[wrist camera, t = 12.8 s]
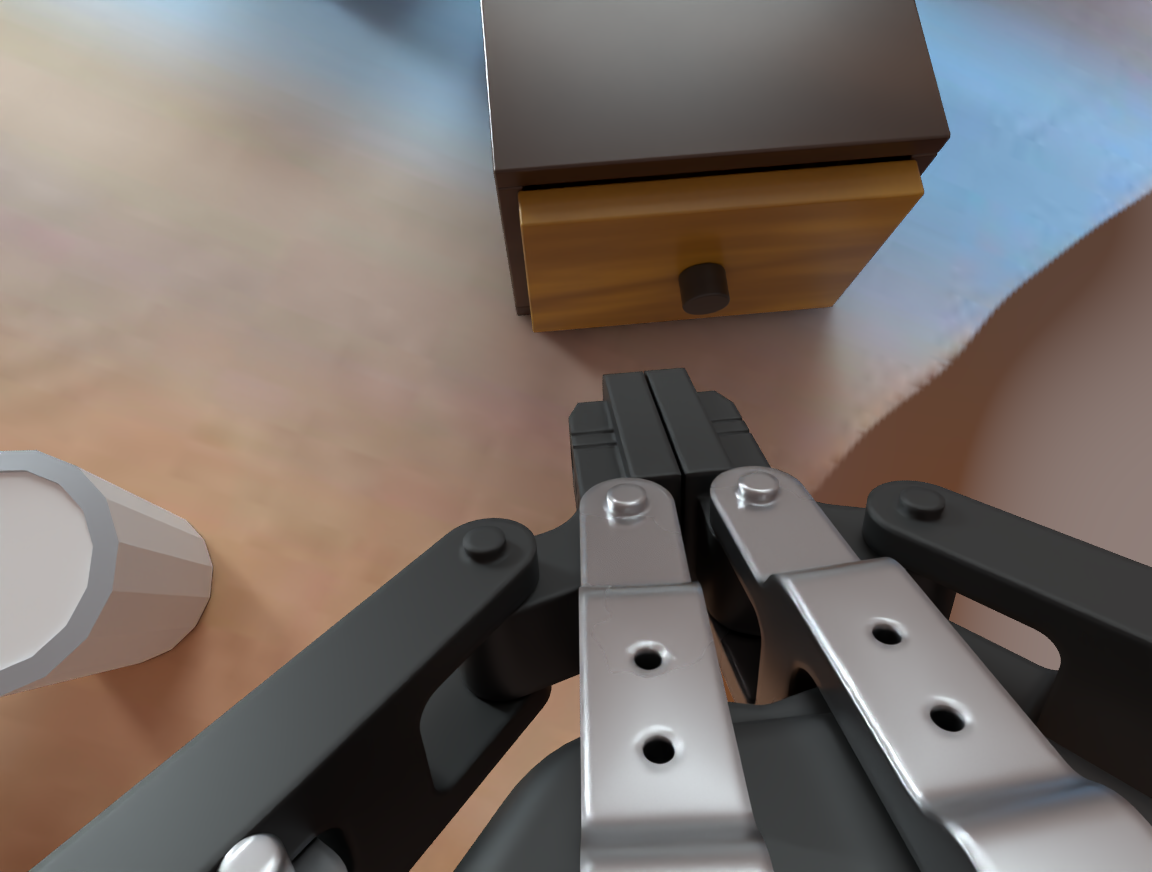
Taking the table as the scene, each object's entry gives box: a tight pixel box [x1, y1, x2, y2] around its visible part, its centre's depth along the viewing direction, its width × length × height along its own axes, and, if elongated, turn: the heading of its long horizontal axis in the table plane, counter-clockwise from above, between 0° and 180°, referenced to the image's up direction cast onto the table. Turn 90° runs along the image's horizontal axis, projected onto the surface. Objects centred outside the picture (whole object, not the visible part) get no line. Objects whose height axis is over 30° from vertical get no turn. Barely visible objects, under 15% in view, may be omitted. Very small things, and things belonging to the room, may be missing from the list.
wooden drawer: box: [518, 159, 924, 332], centre depth 26 cm, size 15×12×8 cm
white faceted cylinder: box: [0, 450, 213, 697], centre depth 23 cm, size 7×7×7 cm
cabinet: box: [480, 0, 950, 315], centre depth 27 cm, size 15×13×10 cm
